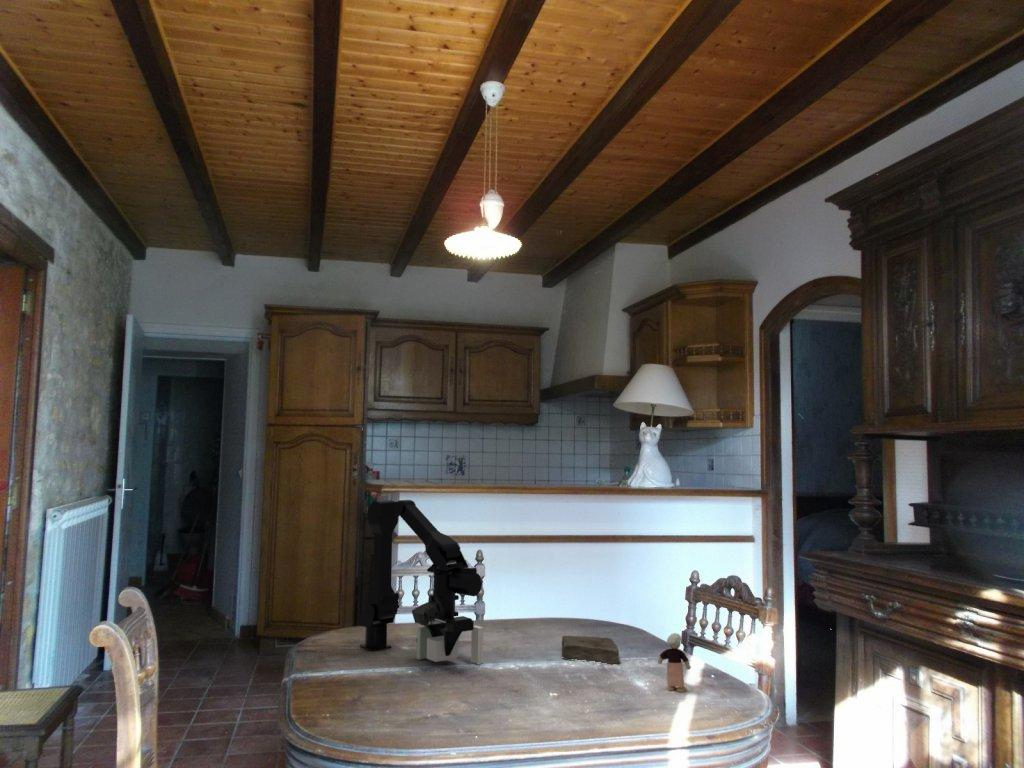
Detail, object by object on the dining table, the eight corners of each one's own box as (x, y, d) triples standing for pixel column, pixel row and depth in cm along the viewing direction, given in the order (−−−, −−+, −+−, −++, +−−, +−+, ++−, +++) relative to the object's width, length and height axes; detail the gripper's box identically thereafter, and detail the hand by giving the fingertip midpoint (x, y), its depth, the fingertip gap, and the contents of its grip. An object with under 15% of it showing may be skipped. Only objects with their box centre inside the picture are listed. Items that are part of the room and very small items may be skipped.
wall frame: (438, 649, 216) (438, 616, 217) (442, 649, 217) (443, 615, 217) (477, 664, 202) (478, 628, 203) (482, 663, 203) (483, 627, 204)
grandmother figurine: (692, 688, 184) (692, 632, 185) (690, 693, 181) (690, 636, 182) (658, 685, 187) (658, 629, 188) (656, 689, 183) (656, 633, 184)
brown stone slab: (619, 666, 204) (619, 649, 204) (561, 664, 205) (561, 648, 205) (614, 649, 221) (614, 634, 221) (561, 648, 221) (561, 632, 222)
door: (441, 650, 214) (442, 621, 215) (448, 652, 212) (448, 622, 213) (413, 658, 206) (414, 627, 207) (419, 659, 205) (420, 628, 205)
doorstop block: (426, 658, 201) (427, 638, 202) (449, 654, 206) (450, 634, 206) (435, 661, 198) (435, 641, 199) (458, 657, 203) (458, 637, 203)
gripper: (397, 588, 205) (396, 650, 204) (438, 600, 191) (436, 667, 190) (434, 584, 212) (432, 644, 211) (475, 595, 198) (474, 660, 197)
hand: (442, 653), depth 202 cm, fingers closed on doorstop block, 4 cm apart
